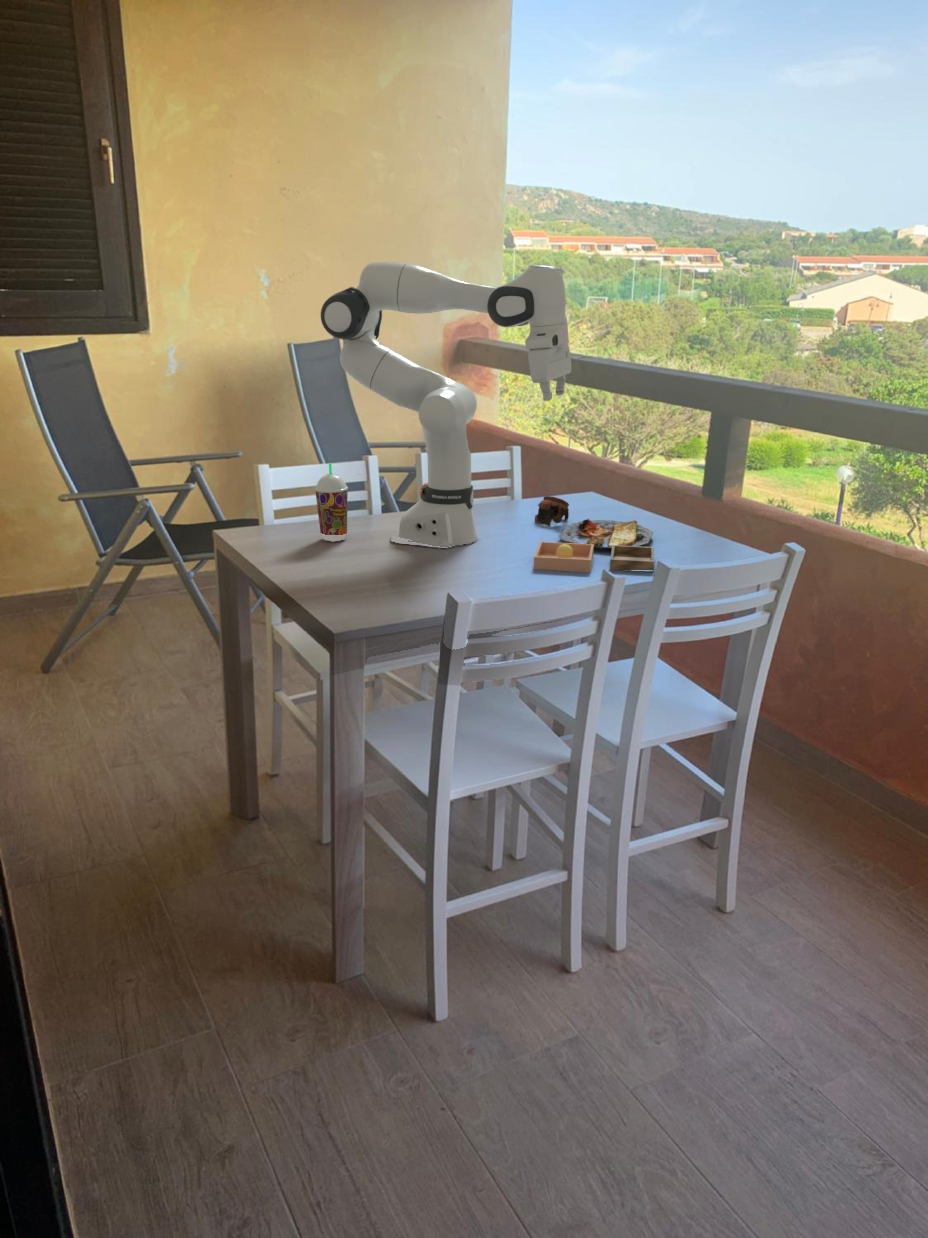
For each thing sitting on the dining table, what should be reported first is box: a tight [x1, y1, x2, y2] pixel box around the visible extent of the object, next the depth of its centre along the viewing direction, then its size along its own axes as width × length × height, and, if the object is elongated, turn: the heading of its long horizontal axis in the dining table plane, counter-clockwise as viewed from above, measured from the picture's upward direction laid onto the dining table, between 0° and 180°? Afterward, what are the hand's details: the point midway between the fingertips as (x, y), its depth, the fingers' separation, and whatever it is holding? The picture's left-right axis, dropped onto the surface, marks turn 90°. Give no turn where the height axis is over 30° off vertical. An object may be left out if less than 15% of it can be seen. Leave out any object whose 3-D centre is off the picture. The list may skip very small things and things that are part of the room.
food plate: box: [557, 518, 654, 550], centre depth 237 cm, size 25×23×4 cm
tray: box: [609, 545, 655, 571], centre depth 218 cm, size 10×12×3 cm
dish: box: [533, 541, 595, 573], centre depth 218 cm, size 13×13×3 cm
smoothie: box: [314, 462, 349, 535], centre depth 235 cm, size 8×8×20 cm
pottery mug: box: [534, 495, 570, 526], centre depth 253 cm, size 12×10×8 cm
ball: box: [556, 544, 573, 558], centre depth 218 cm, size 4×4×4 cm
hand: (554, 397), depth 219 cm, fingers open, 8 cm apart
